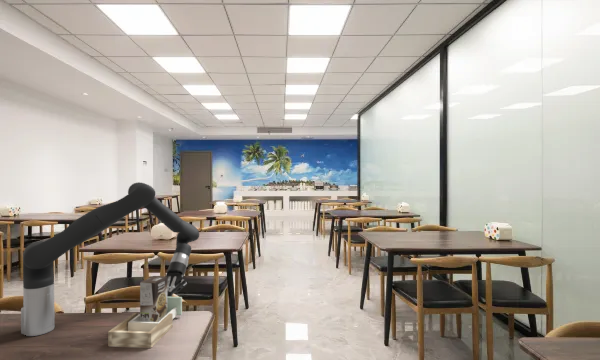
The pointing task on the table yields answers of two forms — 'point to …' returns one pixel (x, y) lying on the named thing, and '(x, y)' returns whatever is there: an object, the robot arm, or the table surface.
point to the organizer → (138, 334)
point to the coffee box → (153, 299)
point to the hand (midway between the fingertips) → (166, 301)
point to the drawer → (172, 307)
